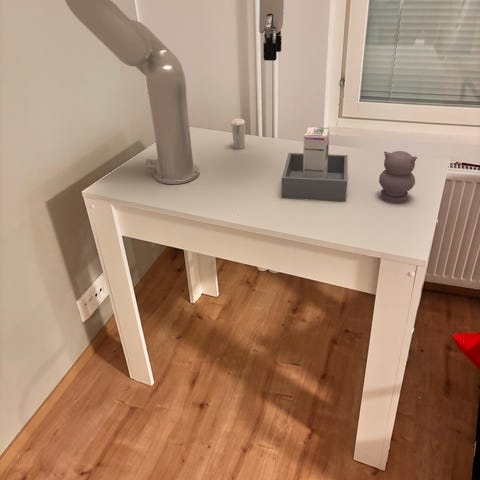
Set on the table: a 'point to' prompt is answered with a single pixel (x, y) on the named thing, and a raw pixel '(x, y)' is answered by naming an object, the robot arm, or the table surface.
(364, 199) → the table surface
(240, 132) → the milkshake
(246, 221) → the table surface
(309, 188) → the bin
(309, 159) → the syrup box
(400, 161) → the cat figurine
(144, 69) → the robot arm
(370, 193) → the table surface
